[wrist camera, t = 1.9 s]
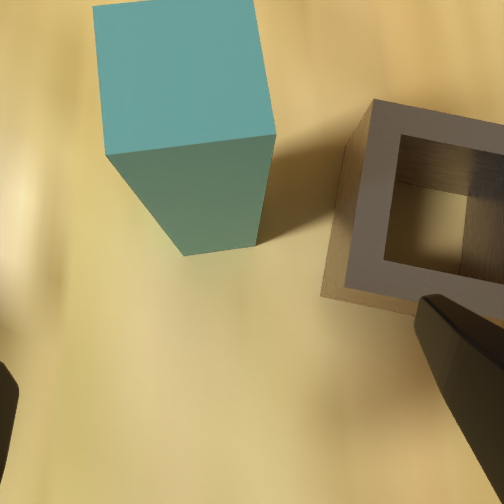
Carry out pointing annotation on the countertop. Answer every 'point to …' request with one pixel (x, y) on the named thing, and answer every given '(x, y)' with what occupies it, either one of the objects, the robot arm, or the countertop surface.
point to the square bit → (188, 115)
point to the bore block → (425, 175)
